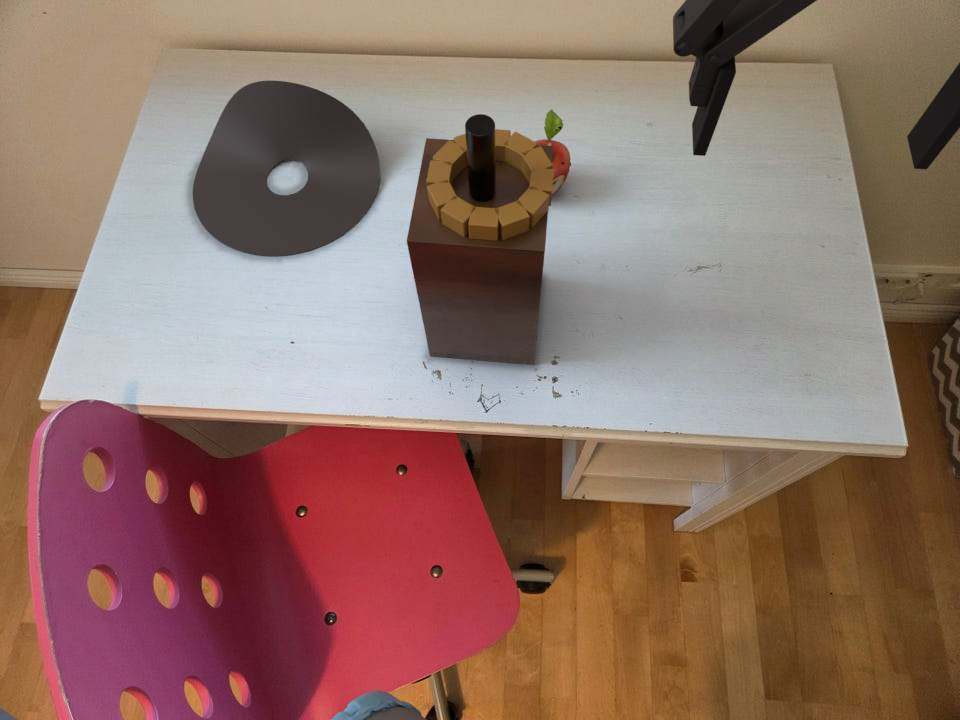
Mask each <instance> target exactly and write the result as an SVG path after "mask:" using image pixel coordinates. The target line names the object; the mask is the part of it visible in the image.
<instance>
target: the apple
mask: <svg viewBox="0 0 960 720" xmlns="http://www.w3.org/2000/svg"><path fill="white" fill-rule="evenodd" d="M545 116H546V117H545V119H544V125H543V129H544V133H545V136H546V139H537V140H533V141H534V142H536V143H538V144H537V145H544V146H553V156H552V165H553V169H554V177H553V187H552V196H553V195H554V194H555V193H556V192H557V191H558V190H559V189H560V188H561V187H562V186H563V184H564V183H565V182H566V180H567V178H568V176H569V172H570V168H571V167H572V162H571V154H570V151H569V148H568V147H567V146H566V145H565V143H564V144H563V143H562V142H560V141H557V140H554V139H553V138H555V136H557V135H558V134H559V133H560V132H561V130H562V129H563V128H564V122H563V119H562V118H561V117H560V116H559V115H558V114H557V113H556V112H555V111H554V110H553V109H550V110H549V111H548V112H546V115H545Z"/></svg>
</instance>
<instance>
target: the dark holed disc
mask: <svg viewBox="0 0 960 720" xmlns="http://www.w3.org/2000/svg"><path fill="white" fill-rule="evenodd" d="M289 159H292V160H293V159H294V160H297V161H299V162H301V163H302V164H303V166H304V167H305V168H306V171H307V180H306V183H305V185H304V186H303V187H302V188H301V189H299V190H298V191H296V192H294V193H290V194H278V193H275V192H274V191H272V190H271V189H270V188H269V187H268V184H267V183H268V182H267V180H268V176H269V174H270V173H271V171H272V170H273V169H274V167H275V166H276V165H277V164H279V163H280V162H282V161H284V160H289ZM380 170H381V169H380V160H379V155H378V150H377V147H376V144H375V142H374V139H373V136H372V135H371V133H370V131H369V129H368V128H367V126H366V124H364V122H363V121H362V119H361V118H360V117H359V116H358V115H357V114H356V112H354V110H352V109H351V108H350V107H349V106H347V104H345V103H344V102H342V101H341V100H339V99H337V98H336V97H334V96H332V95H330V94H329V93H326V92H324V91H322V90H319V89H316V88H313V87H311V86H307V85H304V84H300V83H297V82H292V81H291V82H290V81H283V80H260V81H254V82H250V83H248V84H246V85H244V86H243V87H241V88H240V89H238V90H237V91H236V92H235V93H234V94H233V95H232V96H231V97H230V98H229V100H228V102H227V103H226V105H225V106H224V108H223V110H222V112H221V113H220V116H219V118H218V120H217V122H216V124H215V126H214V129H213V131H212V133H211V136H210V137H209V141H208V143H207V145H206V147H205V149H204V152H203V154H202V156H201V160H200V161H199V165H198V167H197V170H196V173H195V176H194V180H193V185H192V202H193V207H194V211H195V213H196V216H197V218H198V220H199V222H200V223H201V225H202V226H203V228H204V229H205V230H206V231H207V232H208V233H209V234H210V235H211V236H212V237H213V238H214V239H216V240H217V241H218V242H220V243H221V244H223V245H225V246H226V247H229V248H231V249H233V250H236V251H239V252H242V253H246V254H249V255H255V256H263V257H279V256H280V257H281V256H290V255H291V256H292V255H296V254H301V253H305V252H308V251H312V250H315V249H318V248H320V247H323V246H325V245H327V244H329V243H331V242H333V241H334V240H336V239H338V238H339V237H341V236H342V235H344V234H346V233H347V232H348V231H350V230H351V229H352V228H353V227H354V226H355V225H356V224H357V223H358V222H360V220H361V219H362V218H363V217H365V215H366V214H367V212H368V210H369V209H370V208H371V206H372V204H373V202H374V200H375V199H376V196H377V193H378V192H377V191H378V189H379V183H380V175H381V174H380V172H381V171H380Z"/></svg>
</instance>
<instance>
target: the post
mask: <svg viewBox="0 0 960 720" xmlns="http://www.w3.org/2000/svg"><path fill="white" fill-rule="evenodd" d="M495 129H496V122H495V121H494V119H493V118H492V117H491V116H490V115H487V114H482V113H479V114H474V115H471V116H470V117H468V119H467V120H466V121H465V123H464V130H465V133H466V149H467V165H468V181H469V194H470V196H471V197H472V198H473V199H474V200H476V201H479V202H486V201H489V200H491V199H492V198H493V197H494V195H495V193H496V159H495ZM465 133H464V134H465Z"/></svg>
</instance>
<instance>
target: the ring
mask: <svg viewBox="0 0 960 720" xmlns="http://www.w3.org/2000/svg"><path fill="white" fill-rule="evenodd" d="M511 133H512V132H511V129H500V128H499V129H497V128H495V159H496V161H505V162H507V163H509V164H510V165H512V166H514V167H516V168H518V169H520V170H521V171H522V172H523V174H524V175H525V177H526V179H527V180H528V182H529V184H530V185H529V188H528V189H527V190H526V191H525V193H524V194H523V195H522V196H521V197H520V198H519V199H518V200H517V201H515V202H512V203H510V204H507V205H504V206H501V207H499V208H485V207H475V206H473V205H471V204H469V203H468V202H466V201H464V200H462V199H461V198H459V197H457V195H456V193H455V191H454V190H453V188H452V185H453V179H454V178H455V177H456V176H457V175H458V174H459V173H460V172H461V171H462V170H463V169H464V168H465V167H466V166H468V165H467V149H466V133H462V134H460V135H457V136H454V137H453V140H454V142H452V141H451V140H452V139H448V140H449V141H448V142H447V143H446V144H445V145H444V146H443V147H442V148H441V149H440V150H439V151H438V152H437V153H436V154H435V155H434V156H433V161H432V160H431V161H430V165H429V170H428V175H427V180H426V184H427V191H428V197H429V202H430V204H431V206H432V208H433V210H434V212H435V214H436V216H437V218H438V220H442V224H443V225H445V226H447V227H448V228H450V229H452V230H453V231H455V232H457V233H458V234H460V235H462V236H463V237H465V236H466V235H467V234H468V233H469V238H470V239H480V240H492V241H498V236H499V234H500V236H501V238H502V240H505V239H508V238H511V237H513V236H516V235H519V234H522V233H524V232H527V231H529V226H530V227H532V228H533V227H534V226H535V225H536V224H537V223H538V221H539V220H540V219H541V218H542V217H543V216H544V215H545V213H546V212H547V211H548V212H549V209H550V207H551V206H552V198H553V195H552V187H553V177H554V169H553V165H552V163H551V161H550V160H549V158H548V157H547V155H546V153H545V152H544V150H543V149H542V147H541V146H540V147H537V144H538V143H536V142H534V141H535V140H533V139H530V138H528V137H526V136H525V135H523V134H521V133H519V132H518V131H514V132H513V133H512V134H511Z"/></svg>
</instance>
